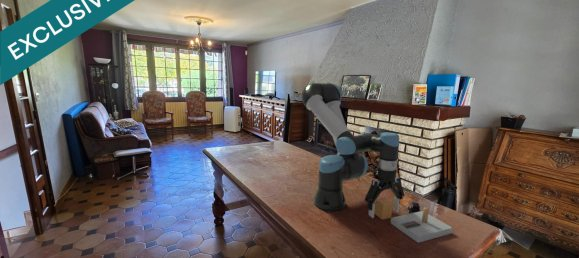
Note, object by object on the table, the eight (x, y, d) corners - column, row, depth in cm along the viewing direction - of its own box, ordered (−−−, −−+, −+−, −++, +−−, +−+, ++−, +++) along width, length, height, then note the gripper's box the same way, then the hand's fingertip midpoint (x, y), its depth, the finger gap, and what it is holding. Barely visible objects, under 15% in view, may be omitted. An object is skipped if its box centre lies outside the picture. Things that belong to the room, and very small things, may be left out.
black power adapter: (425, 221, 109) (427, 212, 108) (407, 218, 111) (408, 209, 110) (420, 208, 120) (421, 199, 119) (404, 205, 122) (405, 197, 122)
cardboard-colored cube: (382, 219, 108) (383, 204, 107) (374, 213, 113) (375, 199, 112) (391, 217, 110) (392, 203, 109) (383, 212, 115) (384, 198, 114)
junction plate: (417, 243, 93) (419, 222, 91) (390, 223, 106) (391, 204, 104) (451, 233, 99) (454, 213, 98) (422, 215, 112) (424, 198, 111)
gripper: (369, 174, 100) (366, 223, 103) (416, 168, 109) (411, 213, 112) (358, 168, 107) (355, 214, 110) (402, 163, 115) (398, 205, 119)
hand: (383, 213), depth 111 cm, fingers open, 13 cm apart
